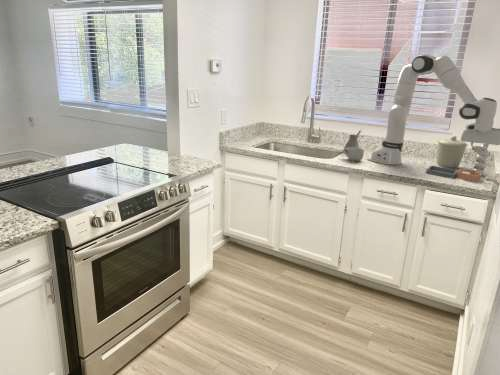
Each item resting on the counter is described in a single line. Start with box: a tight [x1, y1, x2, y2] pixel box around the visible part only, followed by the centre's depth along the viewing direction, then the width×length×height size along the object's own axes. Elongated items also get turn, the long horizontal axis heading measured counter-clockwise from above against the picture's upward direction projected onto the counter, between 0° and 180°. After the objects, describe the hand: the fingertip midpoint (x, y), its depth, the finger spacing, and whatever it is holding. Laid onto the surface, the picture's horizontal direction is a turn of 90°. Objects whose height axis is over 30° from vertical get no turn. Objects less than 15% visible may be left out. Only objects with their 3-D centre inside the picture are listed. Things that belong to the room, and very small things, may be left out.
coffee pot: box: [343, 130, 363, 154], centre depth 284 cm, size 21×12×15 cm, turn 146°
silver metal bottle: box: [472, 143, 490, 177], centre depth 233 cm, size 6×7×20 cm
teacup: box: [342, 147, 365, 162], centre depth 260 cm, size 14×11×8 cm
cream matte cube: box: [473, 145, 483, 154], centre depth 221 cm, size 4×4×3 cm
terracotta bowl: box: [456, 169, 482, 182], centre depth 227 cm, size 12×12×4 cm
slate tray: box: [425, 165, 459, 179], centre depth 235 cm, size 16×14×3 cm
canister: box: [436, 135, 469, 169], centre depth 252 cm, size 18×18×21 cm
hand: (478, 150), depth 221 cm, fingers closed on cream matte cube, 4 cm apart
